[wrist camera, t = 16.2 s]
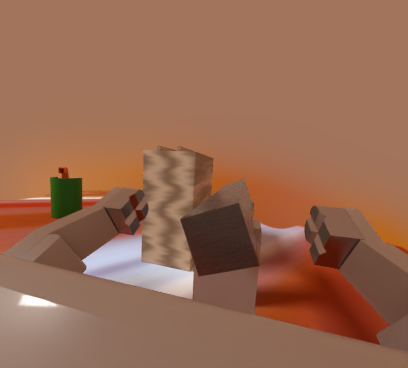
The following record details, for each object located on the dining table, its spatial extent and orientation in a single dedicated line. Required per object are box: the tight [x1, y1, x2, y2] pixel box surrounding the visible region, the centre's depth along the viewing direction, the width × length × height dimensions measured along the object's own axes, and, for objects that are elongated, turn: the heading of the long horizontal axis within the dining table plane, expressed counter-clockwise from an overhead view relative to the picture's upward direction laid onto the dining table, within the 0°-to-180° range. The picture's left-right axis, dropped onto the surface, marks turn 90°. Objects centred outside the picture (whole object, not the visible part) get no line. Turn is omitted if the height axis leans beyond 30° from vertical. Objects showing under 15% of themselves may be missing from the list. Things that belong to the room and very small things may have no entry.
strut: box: [180, 179, 259, 277], centre depth 22 cm, size 4×26×4 cm, turn 166°
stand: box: [142, 146, 213, 271], centre depth 47 cm, size 12×20×27 cm, turn 166°
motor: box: [50, 167, 82, 218], centre depth 69 cm, size 10×9×20 cm
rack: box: [193, 200, 261, 315], centre depth 23 cm, size 7×16×18 cm, turn 166°
